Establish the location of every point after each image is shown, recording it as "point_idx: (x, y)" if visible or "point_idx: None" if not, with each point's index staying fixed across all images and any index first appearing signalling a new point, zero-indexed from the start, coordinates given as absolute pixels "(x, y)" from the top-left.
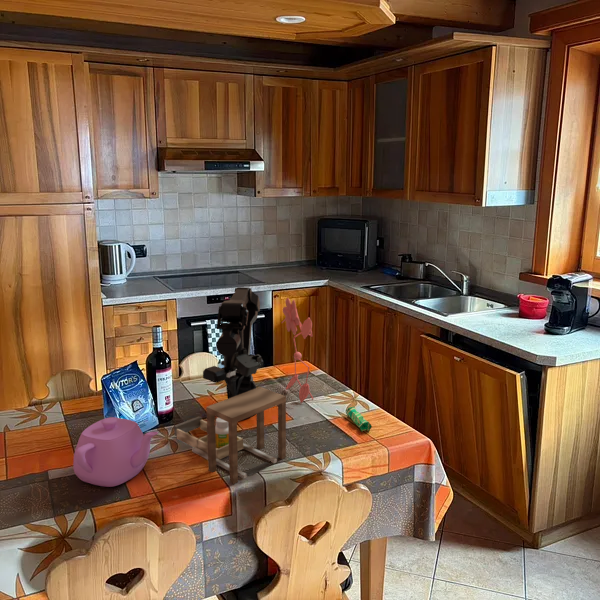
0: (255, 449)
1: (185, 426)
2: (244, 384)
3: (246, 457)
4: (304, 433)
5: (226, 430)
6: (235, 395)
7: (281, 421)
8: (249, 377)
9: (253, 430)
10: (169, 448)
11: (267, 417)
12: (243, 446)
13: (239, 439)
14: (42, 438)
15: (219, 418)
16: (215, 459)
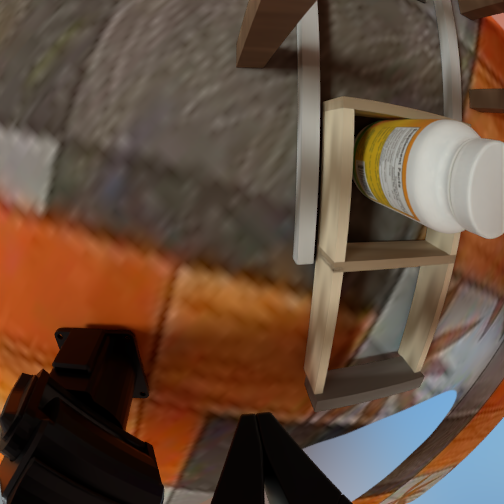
0: (307, 37)
1: (386, 378)
2: (66, 471)
3: (356, 49)
4: (18, 49)
5: (475, 133)
6: (257, 413)
7: None
8: (18, 492)
9: (145, 221)
10: (448, 313)
11: (31, 278)
12: (317, 108)
13: (361, 108)
14: (466, 441)
15: (499, 218)
16: (500, 89)
